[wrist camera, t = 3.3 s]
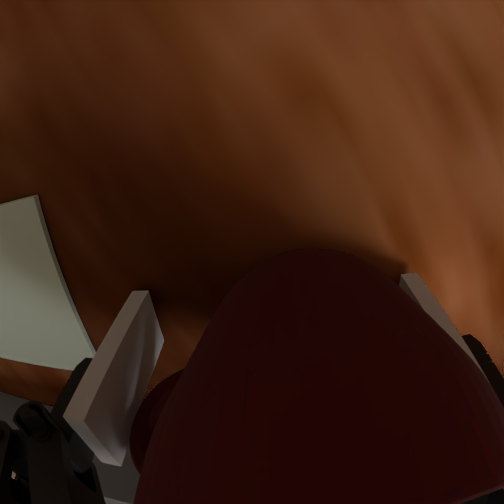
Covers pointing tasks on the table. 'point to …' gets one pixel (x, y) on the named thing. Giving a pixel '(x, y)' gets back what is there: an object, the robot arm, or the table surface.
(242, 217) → the table surface
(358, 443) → the mug
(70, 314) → the corner arena
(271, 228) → the table surface
